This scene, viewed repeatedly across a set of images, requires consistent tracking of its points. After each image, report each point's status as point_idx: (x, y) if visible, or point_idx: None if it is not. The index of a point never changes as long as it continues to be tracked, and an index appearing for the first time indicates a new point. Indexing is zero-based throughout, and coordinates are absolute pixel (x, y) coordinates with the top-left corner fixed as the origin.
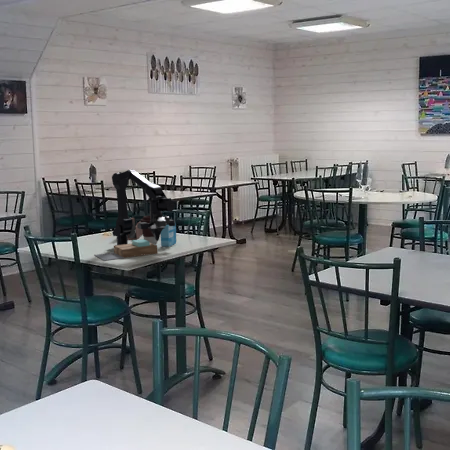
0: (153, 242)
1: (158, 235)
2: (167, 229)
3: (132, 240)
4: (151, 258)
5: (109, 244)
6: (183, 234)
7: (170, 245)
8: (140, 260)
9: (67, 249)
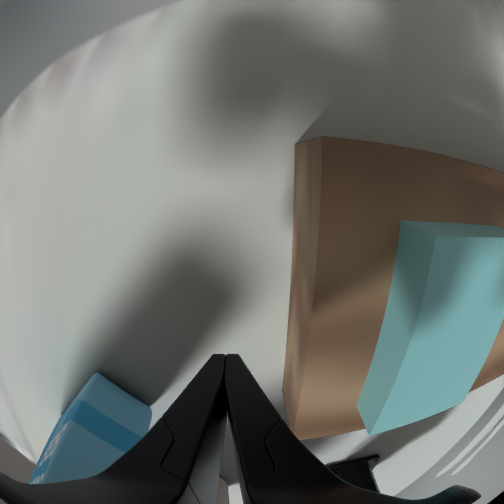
0: None
1: (203, 411)
2: None
3: (463, 398)
4: (409, 7)
5: None
6: None
7: (86, 383)
8: (472, 29)
9: (469, 444)
